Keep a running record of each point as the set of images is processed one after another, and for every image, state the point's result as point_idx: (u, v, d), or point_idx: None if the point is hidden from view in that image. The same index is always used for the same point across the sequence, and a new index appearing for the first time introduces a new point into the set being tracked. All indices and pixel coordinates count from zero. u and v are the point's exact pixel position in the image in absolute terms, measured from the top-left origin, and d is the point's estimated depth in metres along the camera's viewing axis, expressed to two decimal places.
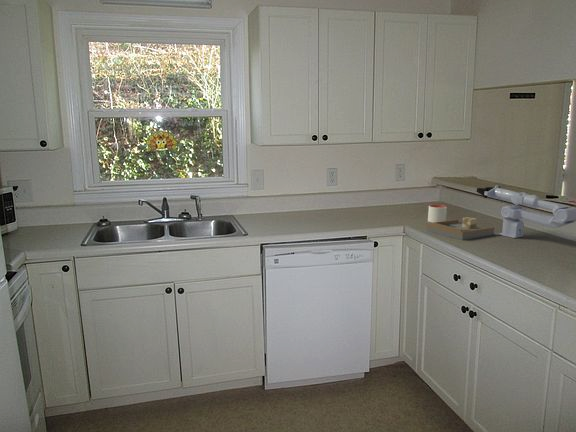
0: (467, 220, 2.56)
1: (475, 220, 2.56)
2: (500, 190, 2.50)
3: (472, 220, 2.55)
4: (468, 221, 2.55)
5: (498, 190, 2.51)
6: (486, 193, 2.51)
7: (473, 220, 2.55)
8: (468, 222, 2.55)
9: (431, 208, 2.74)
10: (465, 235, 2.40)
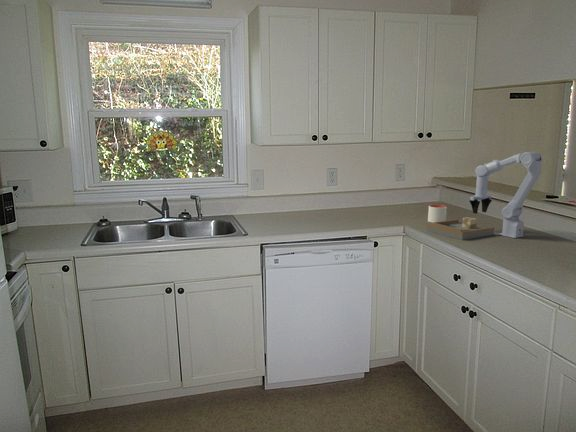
0: (467, 220, 2.56)
1: (475, 220, 2.56)
2: (476, 189, 2.59)
3: (472, 220, 2.55)
4: (468, 221, 2.55)
5: None
6: (471, 197, 2.56)
7: (473, 220, 2.55)
8: (468, 222, 2.55)
9: (431, 208, 2.74)
10: (465, 235, 2.40)
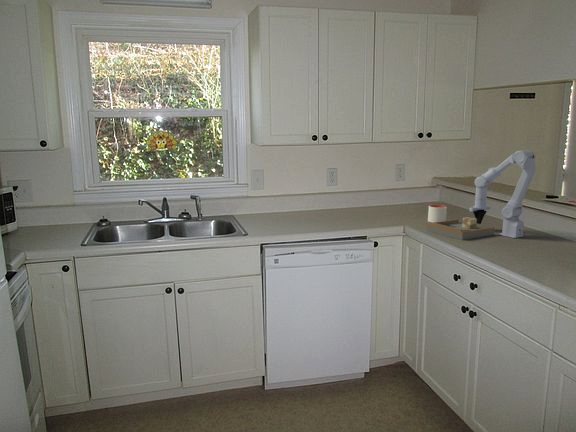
0: (467, 220, 2.56)
1: (475, 220, 2.56)
2: (475, 200, 2.60)
3: (472, 220, 2.55)
4: (468, 221, 2.55)
5: None
6: (470, 209, 2.57)
7: (473, 220, 2.55)
8: (468, 222, 2.55)
9: (431, 208, 2.74)
10: (465, 235, 2.40)
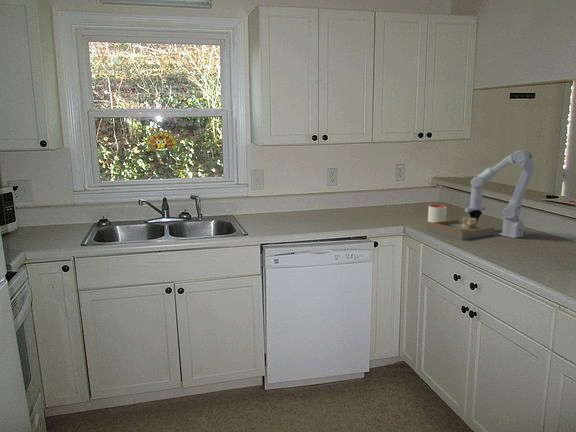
0: (467, 220, 2.56)
1: (475, 220, 2.56)
2: None
3: (472, 220, 2.55)
4: (468, 221, 2.55)
5: (470, 202, 2.59)
6: (466, 209, 2.55)
7: (473, 220, 2.55)
8: (468, 222, 2.55)
9: (431, 208, 2.74)
10: (465, 235, 2.40)
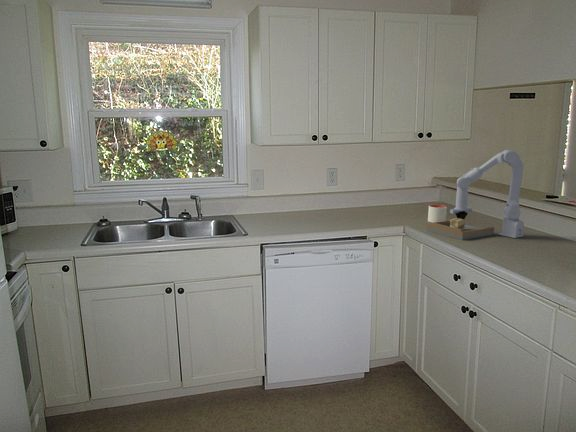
0: (454, 222, 2.51)
1: (463, 221, 2.51)
2: (456, 201, 2.53)
3: (459, 222, 2.50)
4: (456, 223, 2.50)
5: None
6: (451, 210, 2.49)
7: (460, 221, 2.51)
8: (455, 224, 2.51)
9: (431, 208, 2.74)
10: (465, 235, 2.40)
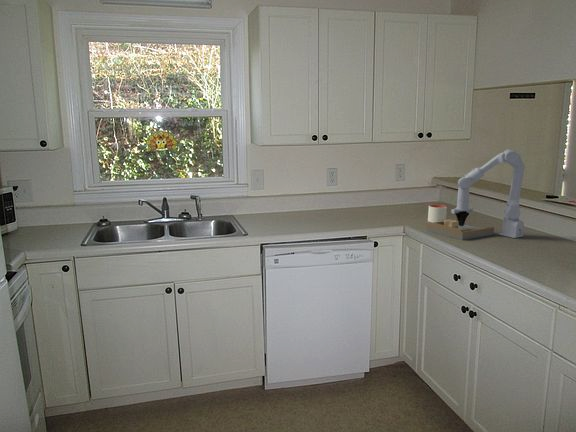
0: (448, 223, 2.49)
1: (457, 222, 2.49)
2: (457, 201, 2.53)
3: (453, 223, 2.48)
4: (450, 224, 2.48)
5: (457, 203, 2.53)
6: (452, 210, 2.50)
7: (455, 223, 2.48)
8: (449, 225, 2.48)
9: (431, 208, 2.74)
10: (465, 235, 2.40)
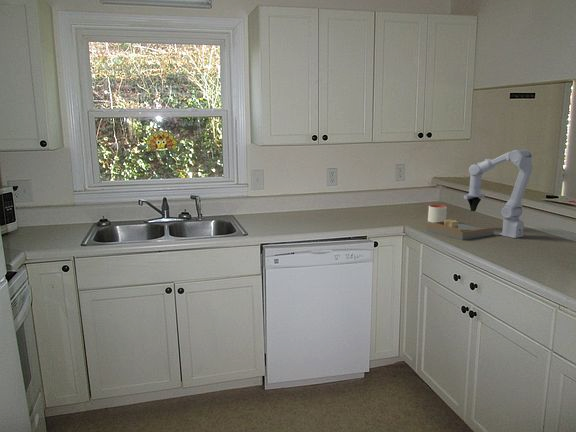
0: (448, 223, 2.49)
1: (457, 222, 2.49)
2: (469, 188, 2.64)
3: (453, 223, 2.48)
4: (450, 224, 2.48)
5: (469, 190, 2.64)
6: (465, 196, 2.60)
7: (455, 223, 2.48)
8: (449, 225, 2.48)
9: (431, 208, 2.74)
10: (465, 235, 2.40)
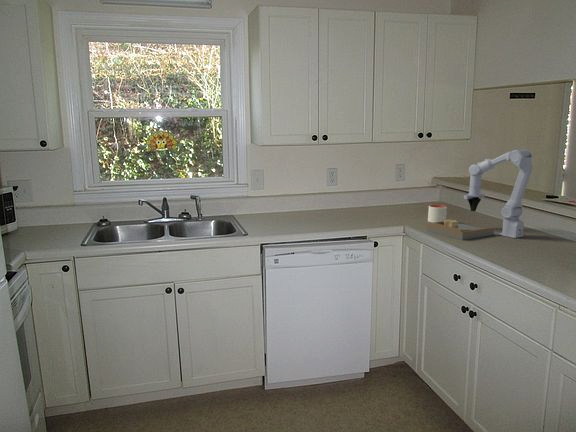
0: (448, 223, 2.49)
1: (457, 222, 2.49)
2: (469, 188, 2.64)
3: (453, 223, 2.48)
4: (450, 224, 2.48)
5: (469, 190, 2.64)
6: (465, 196, 2.60)
7: (455, 223, 2.48)
8: (449, 225, 2.48)
9: (431, 208, 2.74)
10: (465, 235, 2.40)
